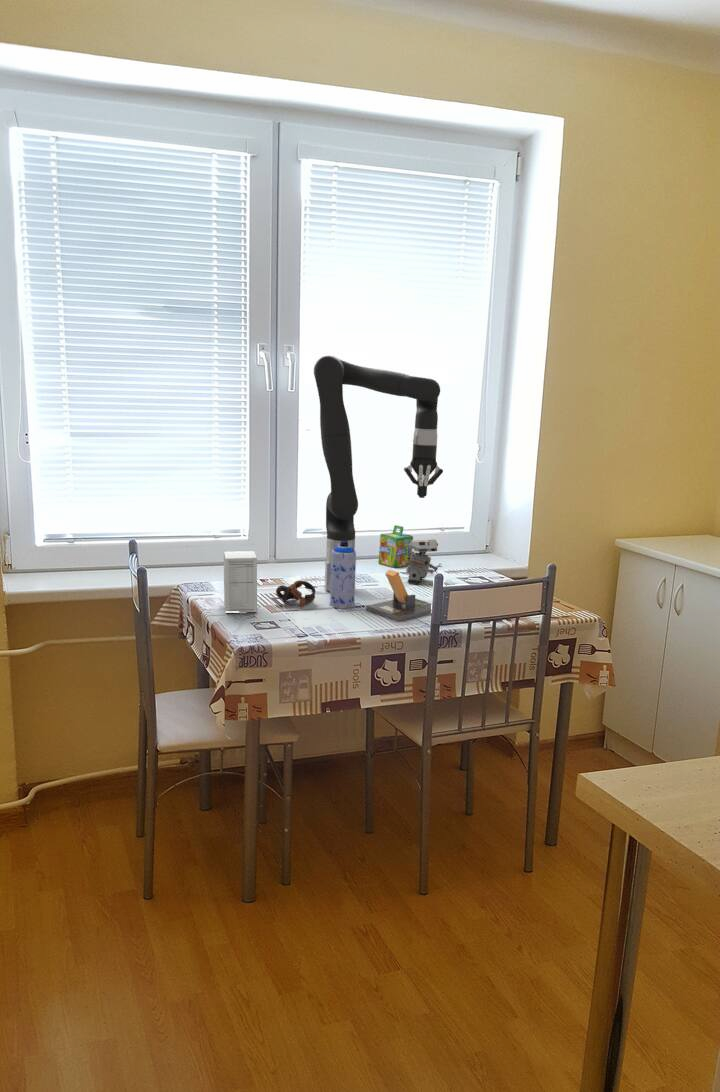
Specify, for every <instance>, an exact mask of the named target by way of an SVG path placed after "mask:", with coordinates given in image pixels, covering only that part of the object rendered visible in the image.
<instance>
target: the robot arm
mask: <svg viewBox="0 0 720 1092" xmlns="http://www.w3.org/2000/svg"><path fill="white" fill-rule="evenodd" d="M313 375H314V376H313V377H314V379H315V383H316V384H315V385H316V388H317V393H318V398H319V426H320V427H319V428H320V439H321V447H322V453H323V457H324V460H325V463H326V467H327V470H328V475H329V479H330V492H329V493H328V496H327V498H326V504H325V528H326V555H325V557H326V558H325V562H324V563H325V564H324V589H325V591H326V592H330V589H331V556H332V550H333V549H334V548H335V547H336V546H338V545H340V543H341V541H348V545H350V546H351V547H353V549H354V550H355V551H356V549H355V547H356V529H355V523H354V520H355V518H354V516H355V515H356V514H357V512H358V508H359V500H358V495H357V492H356V491H357V490H356V487H355V481H354V476H353V475H354V474H353V453H352V439H351V429H350V424H349V419H348V416H347V415H348V414H347V411H346V408H345V404H344V394H343V393H344V391H343V388H344V387H343V385H344V386H345V385H347V386H354V387H355V386H356V387H362V388H365V389H368V390H372V391H375V392H379V393H382V394H386V395H391V396H396V397H407V398H411V399H413V400H415V401H416V411H415V418H414V419H415V421H414V431H413V439H412V456H411V457H412V458H411V461H410V462H409V463H410V464H409V465H408V466H406V467H403V471H404V472H405V474H406V475H407V477H408V479H410V481H411V482H412V484H414V485H416V487H417V489H416V490H417V492H416V495H417V496H418V498H420V499H424V498H425V497H426V496H427V494H428V486H430V485H434V483H435V482H436V481H437V479H439V478H440V476H441V475H442V474H443V473H444V470H443V468H440V466H438V462H437V451H438V422H439V421H438V419H439V418H438V417H439V416H438V404H439V403H438V400H439V396H440V394H441V385H440V384H439V383H438V381H437V380H435V379H433V378H427V377H421V376H414V375H412V376H411V375H409V374H406V373H402V372H397V371H392V370H386V369H380V368H371V367H367V366H362V365H357V364H354V363H351V362H348V361H345V360H344V359H339V358H338V357H337V356H335V355H324V356H321V357H320V358H318V359H317V361H315V363H314V367H313ZM413 471H414V473H415V474H416V477H417V479H416V477H415V476H414V475H413V474H412V473H413ZM433 472H434V473H433ZM432 473H433V474H432ZM431 474H432V476H431V477H430V475H431Z"/></svg>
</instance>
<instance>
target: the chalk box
mask: <svg viewBox="0 0 720 1092" xmlns="http://www.w3.org/2000/svg"><path fill="white" fill-rule="evenodd" d="M398 529H399V532H398V531H397V530H398ZM410 540H414V536H413V535H411V534H407V533H404V526H401V525H396V524H395V525H394V526H393V530H392V532H387V533H386V532H385V533H380V539H379V550H378V551H379V552H378V564H380V565H384V566H386V567H390V568H393V569H397V568H402V567H408V565H406V563H407V558H408V555H410V554H411V553H412V552H413V548H409V547H408V542H409V541H410Z"/></svg>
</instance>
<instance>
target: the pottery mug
mask: <svg viewBox="0 0 720 1092" xmlns="http://www.w3.org/2000/svg"><path fill="white" fill-rule="evenodd" d="M302 586H304V587H305V589H307V590H310V591H311V592H312V593H310V594H305V595H304V596H303V593H302V592H301V591H299V590H298V588H301V587H302ZM316 591H317V590H316V589H315V587H314V585H313V584H312V583H310V582H307V581H306V580H305V581H304V580H301V579H300V580H296V581H294V582H293V583H292V584H290V585H288V586H286V585H279V586H278V587H277V588H276V589H275V593H276V596H277V597H278V598H279V599H280V600H282V601H283V603H287V601H289V600H297V601H298V600H299V602H298V604H297V607H298V608H300V609H302V608H304V607H306V606H305V605H309V604H311V603H312V602H313V601H315V599H316ZM282 592H283V593H282Z"/></svg>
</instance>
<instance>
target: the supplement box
mask: <svg viewBox="0 0 720 1092" xmlns="http://www.w3.org/2000/svg"><path fill="white" fill-rule="evenodd" d="M223 596H224V597H223V598H224V599H223V600H224V603H223V606H225V607H224V612H225V611H239V612H257V613H258V558H257V555H256V552H255V551H254V550H249V551H248V550H245V551H244V550H243V551H242V550H241V551H237V550H235V551H224V552H223Z"/></svg>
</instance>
